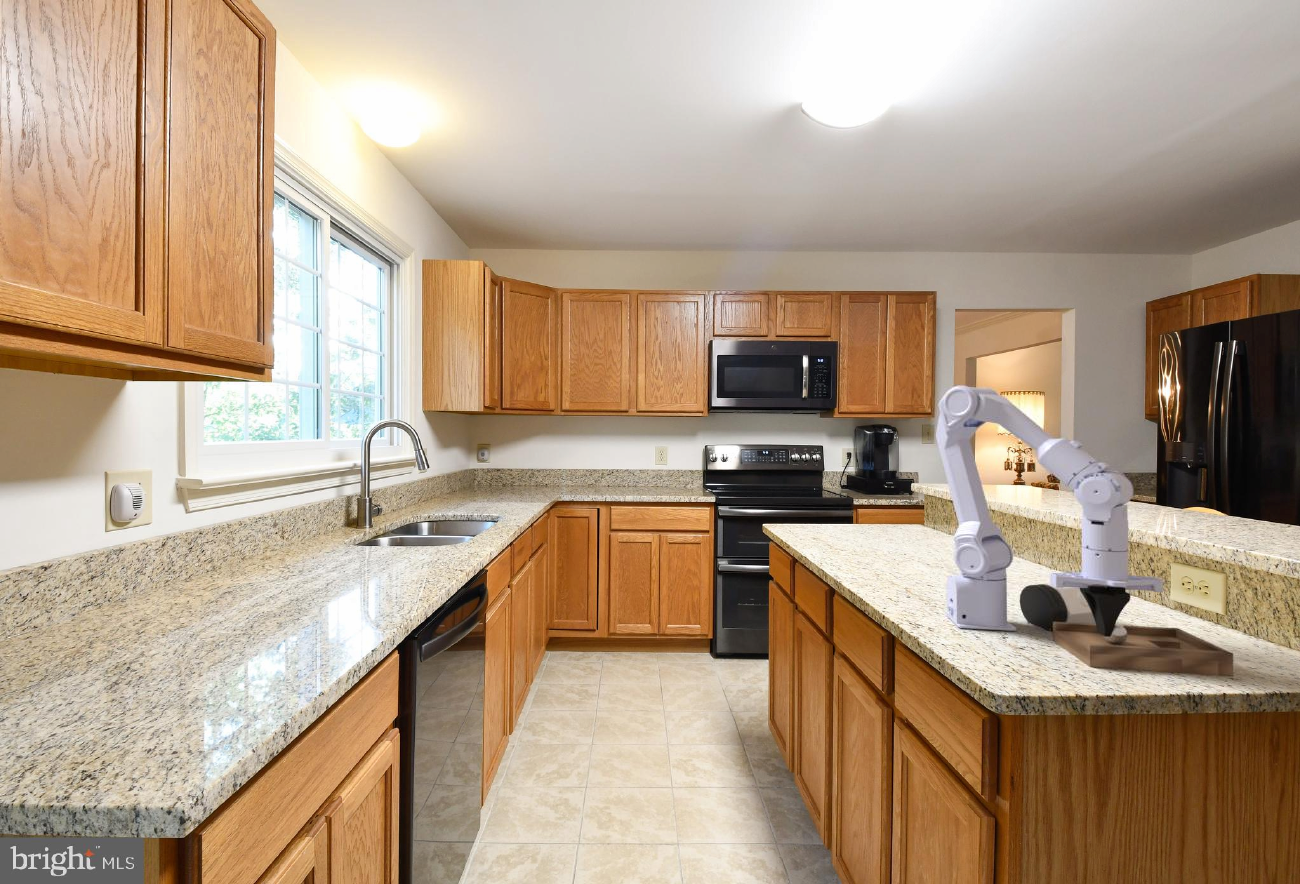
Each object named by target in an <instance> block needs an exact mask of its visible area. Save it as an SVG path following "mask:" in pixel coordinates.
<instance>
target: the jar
mask: <svg viewBox="0 0 1300 884" xmlns="http://www.w3.org/2000/svg"><path fill="white" fill-rule="evenodd" d="M1019 606H1020V607H1019V608H1020V611H1021V612H1022V615H1023V618H1024V619H1025V621H1027V623H1028V624H1030V625H1033V626H1035V627H1036V628H1037V627H1038V628H1039V629H1042V630H1045V631H1053V622H1067V623H1087V624H1096V623H1095V620H1094V617H1093V614H1092V612H1091V609H1090V607H1089V605H1088V603H1087V601H1086V599H1085V598H1084V596H1083V594H1082V593H1081V591H1080V588H1075V587H1063V588H1056V587H1054V586H1052V585H1050V580H1048V581H1040V582H1038V583H1037V584H1029V585H1027V586H1025V587H1024V588H1023V589H1022V590H1021V592H1020V595H1019Z"/></svg>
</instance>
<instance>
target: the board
mask: <svg viewBox="0 0 1300 884" xmlns="http://www.w3.org/2000/svg"><path fill="white" fill-rule="evenodd" d="M1120 625H1121V624H1120ZM1121 626H1123V627H1124V628H1125V629H1126V631H1127V633H1128V638H1127V640H1126V641H1125V642H1124V643H1121V644H1113V643H1110V642H1108V641H1107V640H1106V639H1104V637H1103V636H1102V635H1101V634H1100V633H1098V631H1097V627H1096V624H1087V623H1067V622H1053V630H1052V641H1053V642H1054V643H1056V644H1057V645H1059V646H1060V647H1061V648H1062V649H1064V650H1066V651H1067V652H1068V653H1070V654H1071V655H1073V656H1074V657H1076V658H1077V659H1078V660H1079V661H1081V662H1082V663H1084V664H1086V665H1087V666H1088V667H1091V668H1101V669H1102V668H1103V669H1105V668H1106V669H1118V670H1119V669H1120V670H1132V671H1133V670H1134V671H1135V670H1136V671H1152V672H1163V673H1164V672H1166V673H1167V672H1168V673H1183V674H1195V673H1196V674H1197V675H1199V674H1200V675H1211V676H1212V675H1214V676H1230V677H1233V676H1234V653H1232V652H1230V651H1229V650H1226V649H1224V648H1222V647H1220V646H1217V645H1215V644H1212V643H1211V642H1209V641H1206V640H1204V639H1203V638H1200V637H1197V636H1195V635H1194V634H1192V633H1189V632H1187V631H1184V630H1182V629H1180V628H1178V627H1165V626H1164V627H1162V626H1160V627H1159V626H1143V625H1142V626H1141V625H1140V626H1139V625H1125V624H1124V625H1123V624H1122V625H1121Z"/></svg>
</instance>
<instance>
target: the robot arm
mask: <svg viewBox="0 0 1300 884" xmlns="http://www.w3.org/2000/svg"><path fill="white" fill-rule="evenodd" d="M937 405H938V409H939V412H940V413H939V416H938V421H937V425H936V426H937V428H936V432H935V433H936V434H935V438H936V442H937V447H938V449H939V454H940V458H941V461H942V465H943V469H944V473H945V477H946V480H947V483H948V488H949V492H950V495H951V499H952V503H953V506H954V510H955V513H956V517H957V518H956V519H957V522H958V527H957V530H956V531H955V533H954V535H953V540H954V545H955V548H954V553H953V560H954V564H955V566H956V567H957V568H958V570H959V571H960V573H958V574H949V575H948V576H947V579H946V612H945V616H947V618H948V619H949V620H950V621H951V622H952V623H954V624H955V625H956V626H957V627H958V628H960V629H976V630H991V631H992V630H993V631H994V630H996V631H997V630H998V631H1011V632H1013V631H1014V632H1015V631H1017V627H1015V626H1014V625H1013V624H1012V623H1010V622H1009V621H1008V594H1007V593H1008V592H1007V591H1008V588H1007V586H1008V585H1007V581H1008V578H1007V576H1008V574H1007V569H1008V568H1009V567H1010V566H1011V565H1012V563H1013V561H1014V552H1013V549H1012V547H1011V546H1010V544H1009V543H1008V542H1007V541H1006V540H1005V538H1004V536H1003V533H1002V530H1001V528H1000V527H999V526H998V525H996V524H995V523H994V521H993V520H992V517H991V514H990V511H989V506H988V502H987V499H986V496H985V492H984V489H983V485H982V481H981V478H980V477H981V476H980V473H979V470H978V466H977V462H976V460H975V456H974V452H973V449H972V443H971V438H972V437H973V436H974V434H975V433H976V432H977V430H978V429H979V428H980V427H982V426H983V425H985V424H986V423H992V424H998V425H999V426H1001V427H1002V428H1003V429H1005V430H1006V431H1008V432H1009V433H1010V434H1012V435H1013V436H1015V437H1016V438H1017V439H1019V440H1020V441H1021V442H1023V443H1024V444H1025V445H1027V446H1028V447H1030V448H1031V449H1033V450H1034V451H1035V452H1036V453H1037V462H1038V464H1039V465H1041V466H1042V468H1044V469H1045V470H1046V471H1048V472H1049V473H1050V474H1051V475H1053V476H1054V477H1055V478H1057V479H1058V480H1059V481H1061V482H1062V483H1063V484H1064V485H1065V486H1067V487H1068V488H1069V489H1071V490H1073V494H1074V497H1075V499H1076V501H1077V502H1078V504H1080V505H1081V572H1080V571H1079V572H1057V573H1056V572H1050V573H1049V581H1050V585H1052V586H1054V587H1056V588H1063V587H1075V588H1080V591H1081V593H1082V594H1083V596H1084V598H1085V599H1086V601H1087V603H1088V605H1089V607H1090V609H1091V612H1092V614H1093V617H1094V620H1095V623H1096V627H1097V631H1098V633H1100V634H1101V635H1103V636H1105V637H1110V636H1111V635H1112V633H1113V630H1114V626H1115V624H1116V623H1117V621H1118V618H1119V616H1120V615H1121V613H1122V611H1123V610H1124V608H1125V607H1126V606H1127V605H1128V603H1129V602H1130V601H1131V594H1130V593H1129V592H1127V591H1147V592H1148V591H1152V592H1154V593H1163V592H1164V587H1163V586H1164V580H1163V579H1161V578H1158V577H1155V576H1145V575H1143V576H1142V575H1135V574H1133V575H1132V574H1129V565H1130V564H1129V519H1128V517H1129V516H1128V504H1127V503H1129V502H1130V500H1132V498H1133V496H1134V486H1133V484H1132V482H1131V480H1130V479H1128V478H1127V477H1126V475H1125V474H1124V473H1122V472H1120V471H1117V470H1108V469H1109V468H1110V465H1109V464H1107V462H1105V461H1104V462H1099V461H1098V460H1097V459H1095V458H1094V457H1093V456H1092V455H1090V454H1089V453H1087V452H1086V451H1085V450H1083V449H1082V448H1083V446H1084V445H1083V444H1082V443H1081V442H1080V441H1078V440H1072V441H1071V440H1070V439H1069V438H1066V437H1064V438H1061V437H1060V438H1054V437H1053V436H1052V435H1051V434H1049V433H1048V432H1047V431H1046V430H1045V429H1043V428H1042V427H1041V426H1040V425H1039V424H1038V423H1036V422H1035V421H1034V420H1033V419H1032V418H1030V417H1029V416H1028V415H1026V414H1025V413H1024V411H1022V410H1021V409H1020V408H1019V407H1017V406H1016V405H1014V403H1012V402H1011V401H1010V400H1009V399H1008V398H1007V397H1005V396H1003V395H1001V394H999V393H998V392H997V391H996V390H994V389H992V388H990V387H974V386H967V385H956V386H953V387H950V388H949V389H948V390H947V392H945V394H944V395H943V396H942V398H941V399H940V401H939V402H938V404H937ZM1126 590H1127V591H1126Z"/></svg>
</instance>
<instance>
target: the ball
mask: <svg viewBox="0 0 1300 884" xmlns="http://www.w3.org/2000/svg"><path fill="white" fill-rule="evenodd" d="M1102 636H1103V635H1102ZM1103 637H1104V639H1106V640H1107V641H1108V642H1110V643H1113V644H1121V643H1124V642H1125V641H1126V640H1127V638H1128V633H1127V631H1126V629H1125V628H1124V627H1123V626H1121V624H1120V623H1117V622H1116V624H1115V626H1114V630H1113V633H1112V635H1111V636H1110V637H1105V636H1103Z"/></svg>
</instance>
